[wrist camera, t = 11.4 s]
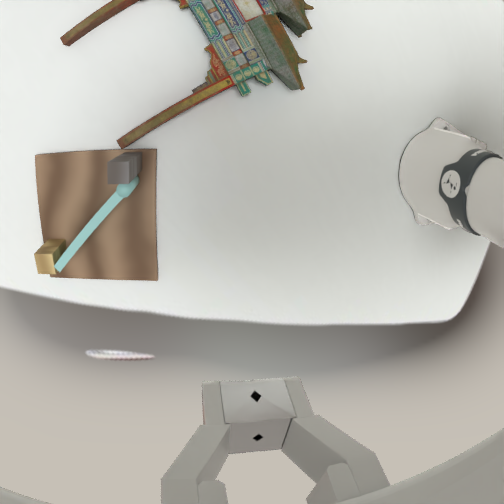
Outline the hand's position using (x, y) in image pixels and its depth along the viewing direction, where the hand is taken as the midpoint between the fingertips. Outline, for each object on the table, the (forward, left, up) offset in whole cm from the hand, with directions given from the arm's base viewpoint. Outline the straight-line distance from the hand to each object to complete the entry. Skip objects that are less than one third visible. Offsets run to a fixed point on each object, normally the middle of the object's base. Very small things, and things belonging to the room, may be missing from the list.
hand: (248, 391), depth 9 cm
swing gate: (+15, +6, -34) cm, 38 cm away
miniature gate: (+4, -19, -36) cm, 41 cm away
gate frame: (+16, +7, -35) cm, 39 cm away
